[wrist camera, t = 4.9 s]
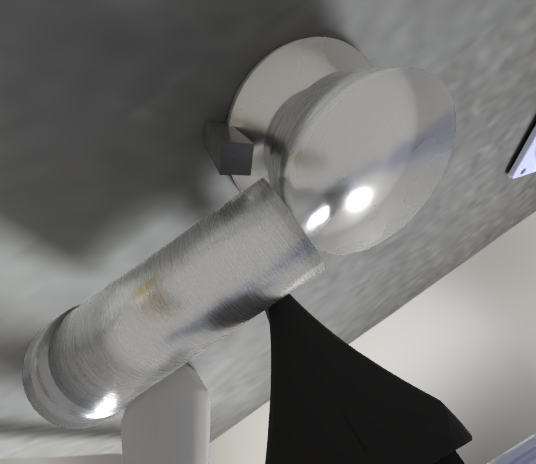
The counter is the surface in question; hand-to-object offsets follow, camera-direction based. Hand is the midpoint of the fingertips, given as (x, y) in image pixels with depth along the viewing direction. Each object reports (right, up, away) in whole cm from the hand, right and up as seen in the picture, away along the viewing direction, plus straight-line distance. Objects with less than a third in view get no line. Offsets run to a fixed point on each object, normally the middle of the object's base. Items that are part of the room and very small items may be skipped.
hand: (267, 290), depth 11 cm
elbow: (-1, +3, -1) cm, 4 cm away
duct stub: (+2, +7, +1) cm, 7 cm away
